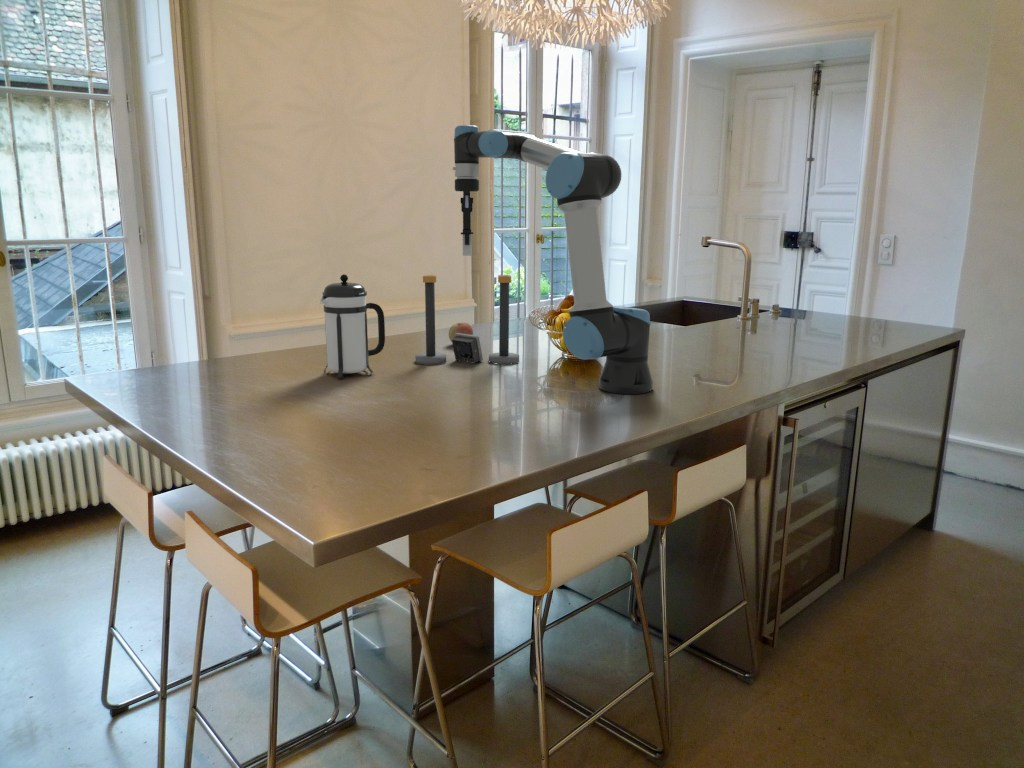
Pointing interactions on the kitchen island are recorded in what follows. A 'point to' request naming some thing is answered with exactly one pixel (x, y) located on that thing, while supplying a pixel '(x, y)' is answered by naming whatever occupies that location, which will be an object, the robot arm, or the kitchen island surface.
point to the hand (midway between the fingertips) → (467, 255)
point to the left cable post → (430, 326)
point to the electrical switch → (467, 347)
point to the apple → (460, 330)
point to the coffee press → (349, 328)
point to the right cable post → (504, 325)
